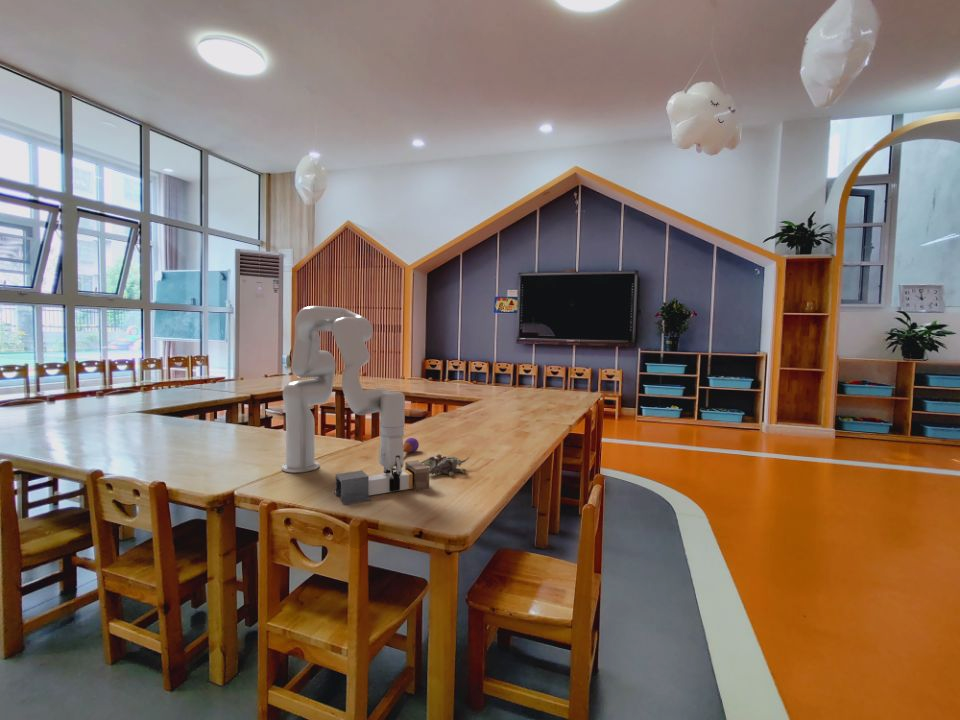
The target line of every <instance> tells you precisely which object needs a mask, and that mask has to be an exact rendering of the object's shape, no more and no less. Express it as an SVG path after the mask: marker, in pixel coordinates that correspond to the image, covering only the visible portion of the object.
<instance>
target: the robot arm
mask: <svg viewBox="0 0 960 720" xmlns="http://www.w3.org/2000/svg"><path fill="white" fill-rule="evenodd" d="M294 331H295V333H294V335H295V337H294V344H293V352H292V360H291V373H292V374H293V376H295V377H297V378H300V379H299V380H295V381H294V380H293V381H290V382H289V383H287V384H286V385H285V386H283V387H284V388H283V390H282V399H283V404H284V409H285V411H284V412H285V432H286V433H285V439H286V440H285V441H286V443H285V444H286V445H285V447H286V448H285V449H286V452H285V453H286V454H285V455H286V457H285V458H286V459H285V460H286V461H285V463H283V464H282V465H281V470H282V471H283V472H285V473H291V474H292V473H294V474H295V473H296V474H298V473H306V472H312V471H314V470H317V469H318V468H319V467H320V462H318V461H317V460H315V459H316V458H315V456H316V455H315V453H316V452H315V449H316V447H315V438H316V437H315V417H314V414H313V412H312V411H311V408H310V407H311V406H316V405H322V404H326V403H327V402H328V401H329V400H330V398H331V396H332V392H333V388H334V387H333V386H334V380H335V374H336V359H335V357H334V356H333V354H332V353H331V352H330V351H328V350H321V349H320V347H321V337H320V334H319V332H332V335H333V338H334V341H335V343H336V345H337V348H338V350H339V353H340V356H341V358H342V361H343V363H344V370H343V373H342V380H341V388H342V392H343V395H344V398H345V399H346V402H347V405H348V408H350V410H351V412H353V413H354V414H355V415H358V416H365V415H370V414H374V413H379V436H380V440H379V450H378V451H379V452H378V453H379V454H378V462H379V465H381V466H382V467H383V474H386V473H390V474H391V478H390V489H389V490H390V491H393V492H398V491H397V490H399V491H401V490H400V474H401V473H402V471H403V469H402V468H403V467H404V463H405V462H404V461H405V460H404V458H405V457H404V453H405V452H403V445H404V439H403V437H404V436H405V413H406V412H405V411H406V410H405V409H406V407H405V404H406V403H405V400H406V396H405V394H404V393H403V392H402V391H398V390H394V391H393V390H388V389H386V388H372V389H371V388H370V389H365V390H364V389H363V388H362V385H361V382H360V375H359V374H360V371H361V370H360V369H361V368H362V367H363V366H366V364H368V363H369V361H370V360H371V354H370V352H369V350H368V347H367V344H366V342H367V341H370V340H371V338H372V337H373V333H374V330H373V325H372V323H371V322H370V321H369V320H368V319H367V318H366V317H364V316H362V315H360V314H358V313H357V312H356V313H355V312H354V311H351V310H349V309H347V308H343V307H336V306H335V307H334V306H326V305H325V306H324V305H323V306H322V305H320V306H319V305H310V306H309V305H308V306H305V307H303V308H301V309H300V310H299V311H298V312H297V313H296V316H295V319H294ZM301 378H302V379H301ZM303 378H304V379H303ZM305 378H306V379H305ZM307 378H311V379H307ZM393 472H394V474H393Z"/></svg>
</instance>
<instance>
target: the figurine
mask: <svg viewBox="0 0 960 720" xmlns="http://www.w3.org/2000/svg"><path fill="white" fill-rule="evenodd" d="M468 459H470V456H468V457H467V458H465V459H464V460H461V459H460V458H458V457H455V456H450V457H446V456H445V455H443V454H436V455H434V456H431V457H429V458H427V459H425V460H423V461H420V462H421V463H423V464H424V465H426V466H428V467H429V475H430V474H431V475H437V474H438V473H439V474H440V473H441V474H444V475H448V476H450V477H451V476H453V475H454V474H455V473H460V472H461V473H463V474H464V473H465V472H466V471H467V469H465V468H457V467H461V465H462V464H464V463H465V462H466V461H468Z"/></svg>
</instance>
